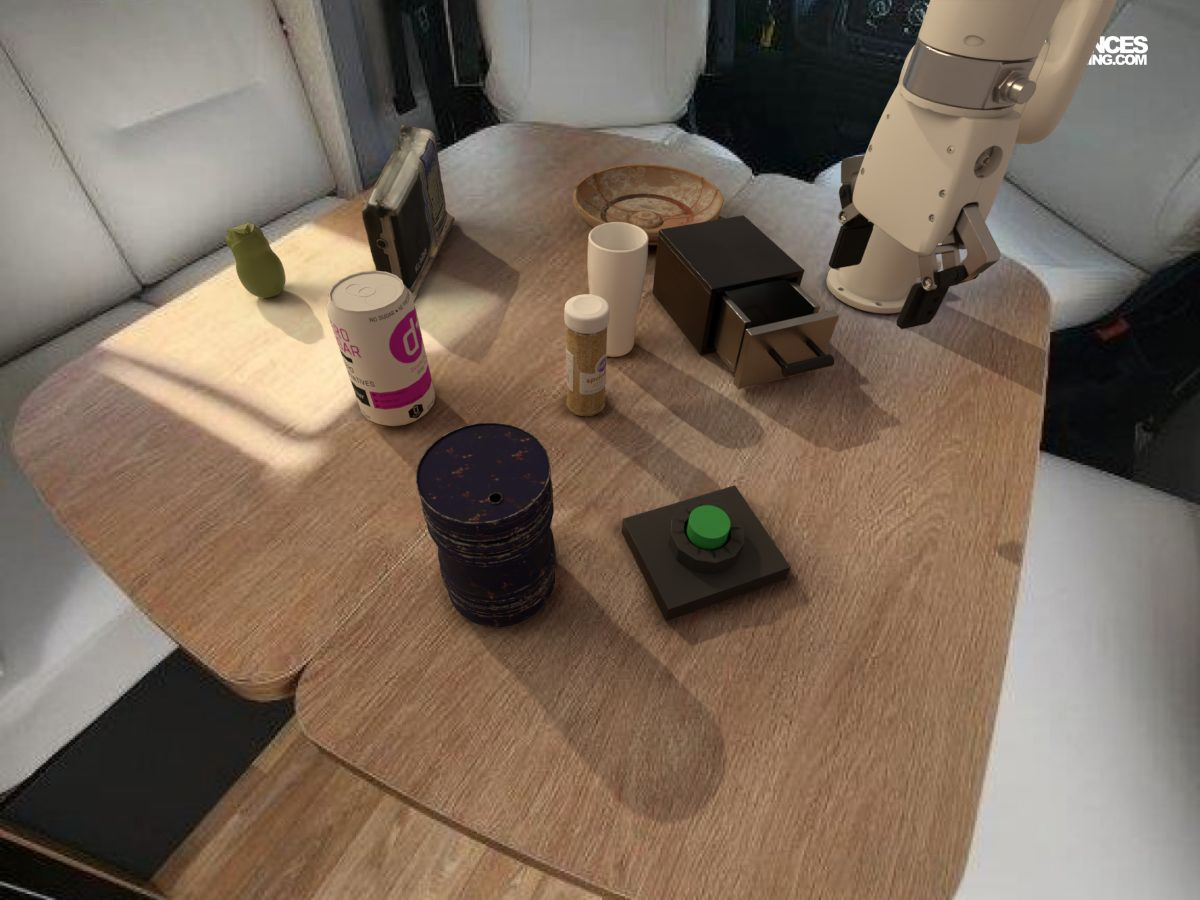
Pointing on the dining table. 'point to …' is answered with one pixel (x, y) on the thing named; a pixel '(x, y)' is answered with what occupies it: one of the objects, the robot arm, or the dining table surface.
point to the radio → (408, 210)
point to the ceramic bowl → (647, 198)
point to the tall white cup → (618, 278)
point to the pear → (256, 261)
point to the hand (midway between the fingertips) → (876, 293)
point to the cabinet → (713, 270)
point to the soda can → (382, 346)
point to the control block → (702, 555)
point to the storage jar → (491, 521)
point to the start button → (708, 527)
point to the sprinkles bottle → (586, 353)
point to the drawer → (771, 332)
